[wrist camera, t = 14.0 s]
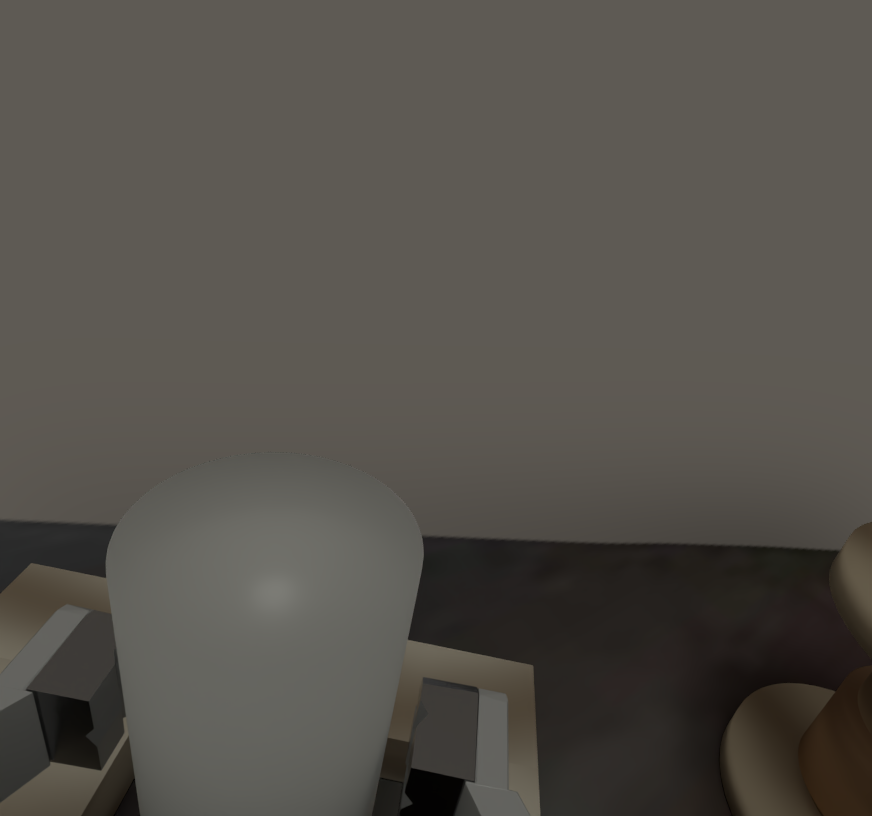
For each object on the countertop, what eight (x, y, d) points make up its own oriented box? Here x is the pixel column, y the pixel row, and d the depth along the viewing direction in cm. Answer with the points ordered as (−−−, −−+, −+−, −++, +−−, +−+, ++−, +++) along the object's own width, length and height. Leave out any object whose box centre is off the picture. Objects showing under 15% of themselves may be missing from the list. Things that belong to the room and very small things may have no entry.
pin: (299, 816, 17) (336, 425, 11) (382, 981, 14) (499, 583, 8) (135, 923, 14) (57, 490, 8) (198, 1152, 11) (152, 760, 5)
